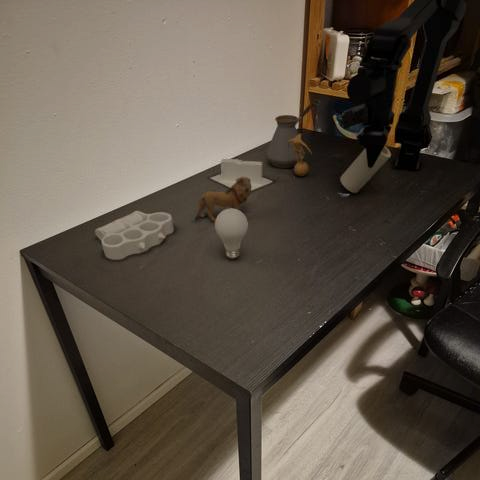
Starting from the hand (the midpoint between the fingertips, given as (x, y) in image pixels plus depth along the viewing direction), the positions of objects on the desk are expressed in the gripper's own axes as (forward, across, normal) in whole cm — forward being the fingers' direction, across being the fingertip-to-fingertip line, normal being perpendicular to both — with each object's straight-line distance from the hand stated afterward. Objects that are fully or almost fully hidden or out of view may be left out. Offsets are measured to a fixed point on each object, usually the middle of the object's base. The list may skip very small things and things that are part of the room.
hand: (372, 162), depth 106 cm
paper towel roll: (+3, 0, +1) cm, 3 cm away
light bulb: (+7, +40, -23) cm, 46 cm away
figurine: (+8, -5, -20) cm, 22 cm away
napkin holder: (+7, +2, -35) cm, 36 cm away
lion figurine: (+7, +23, -31) cm, 39 cm away
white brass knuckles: (+6, +40, -47) cm, 61 cm away
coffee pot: (+7, -18, -25) cm, 32 cm away
